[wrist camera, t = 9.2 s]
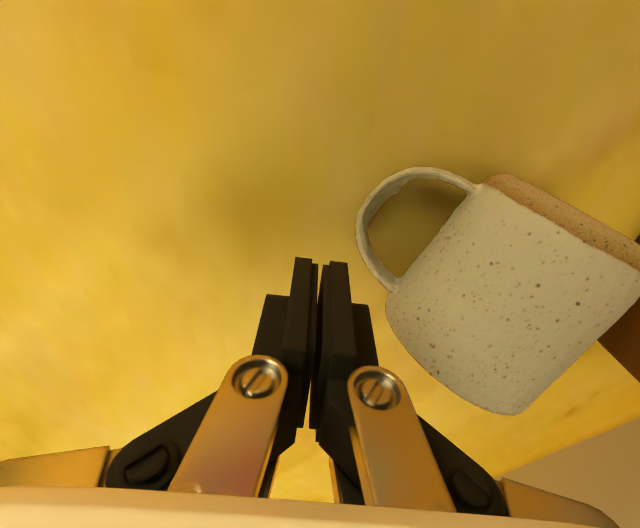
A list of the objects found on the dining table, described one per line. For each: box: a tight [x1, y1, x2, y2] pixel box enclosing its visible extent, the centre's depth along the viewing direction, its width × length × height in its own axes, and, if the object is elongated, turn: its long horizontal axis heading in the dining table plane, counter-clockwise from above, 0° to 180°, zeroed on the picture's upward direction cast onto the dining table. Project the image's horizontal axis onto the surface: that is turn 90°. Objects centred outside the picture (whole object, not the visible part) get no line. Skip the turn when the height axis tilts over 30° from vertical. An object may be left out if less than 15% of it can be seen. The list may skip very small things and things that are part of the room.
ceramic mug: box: [355, 166, 640, 415], centre depth 15 cm, size 11×8×8 cm
